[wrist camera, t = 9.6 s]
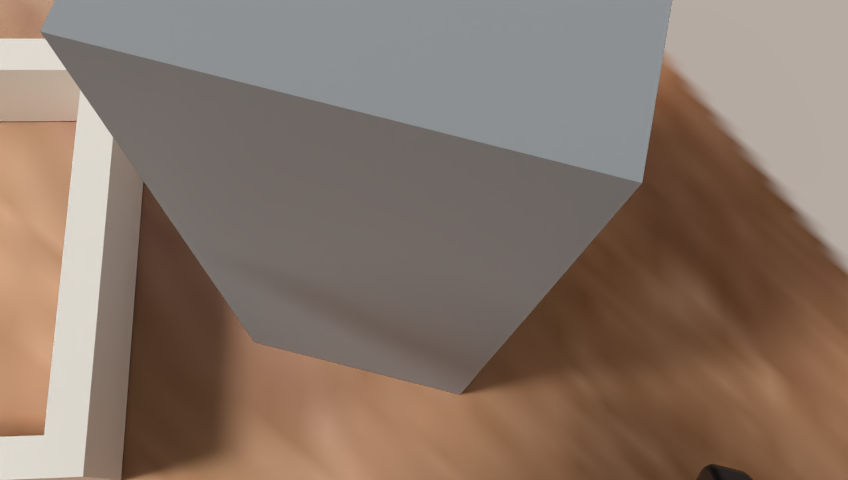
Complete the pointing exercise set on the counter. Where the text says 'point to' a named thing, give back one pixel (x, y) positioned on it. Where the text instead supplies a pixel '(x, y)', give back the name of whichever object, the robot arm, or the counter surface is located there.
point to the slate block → (377, 156)
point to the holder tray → (80, 280)
